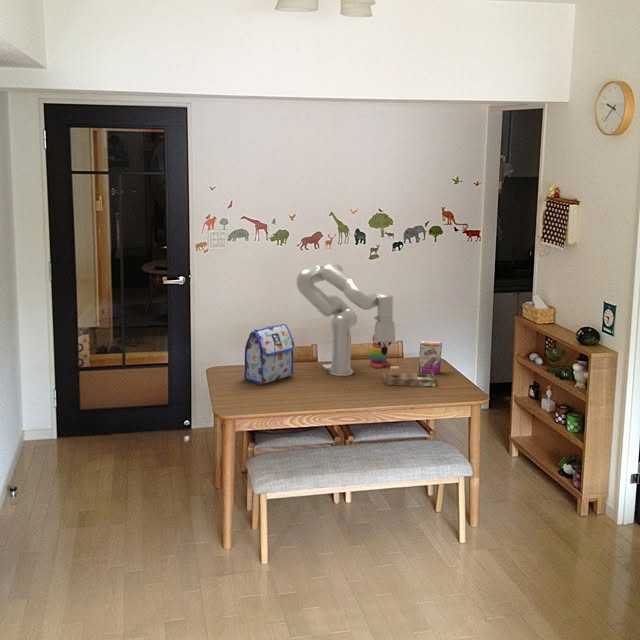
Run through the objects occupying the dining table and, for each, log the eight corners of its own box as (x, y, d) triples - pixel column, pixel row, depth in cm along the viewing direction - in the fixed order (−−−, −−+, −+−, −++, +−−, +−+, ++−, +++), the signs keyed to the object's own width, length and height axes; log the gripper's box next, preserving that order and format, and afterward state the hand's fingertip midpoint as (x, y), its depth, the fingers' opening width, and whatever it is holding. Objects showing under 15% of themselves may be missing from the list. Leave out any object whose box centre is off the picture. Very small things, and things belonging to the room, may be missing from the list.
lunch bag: (264, 387, 413) (264, 333, 407) (241, 379, 424) (241, 327, 418) (297, 377, 430) (298, 326, 424) (274, 371, 441) (274, 320, 434)
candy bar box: (418, 373, 440) (420, 343, 437) (418, 371, 445) (419, 340, 441) (440, 374, 439) (442, 344, 435) (440, 372, 444) (441, 341, 440)
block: (390, 376, 428) (390, 368, 427) (390, 373, 432) (390, 366, 431) (398, 376, 428) (399, 368, 427) (398, 374, 432) (398, 366, 431)
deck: (384, 385, 419) (384, 378, 418) (383, 376, 434) (383, 370, 433) (435, 386, 419) (435, 379, 418) (432, 377, 433) (432, 371, 433)
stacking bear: (378, 369, 447) (379, 336, 443) (364, 365, 454) (365, 332, 450) (392, 365, 454) (393, 333, 450) (378, 361, 461) (379, 329, 457)
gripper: (370, 320, 420) (369, 356, 424) (400, 320, 420) (399, 356, 423) (369, 317, 427) (369, 352, 431) (399, 317, 427) (398, 352, 431)
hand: (384, 354), depth 427 cm, fingers closed
